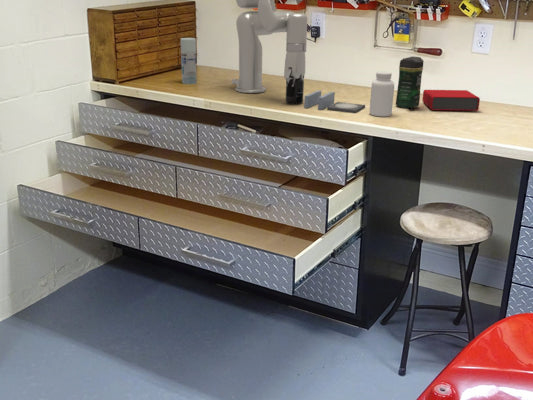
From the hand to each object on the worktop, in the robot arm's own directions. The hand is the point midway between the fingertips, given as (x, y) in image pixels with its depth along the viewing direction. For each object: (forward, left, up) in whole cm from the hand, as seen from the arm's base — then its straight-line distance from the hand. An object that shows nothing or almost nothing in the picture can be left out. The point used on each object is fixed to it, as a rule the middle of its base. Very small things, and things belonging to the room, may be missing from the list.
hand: (294, 94), depth 244 cm
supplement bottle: (0, 0, -3) cm, 3 cm away
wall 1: (+8, 0, -3) cm, 8 cm away
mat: (+21, 0, -3) cm, 21 cm away
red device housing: (+54, +26, -4) cm, 60 cm away
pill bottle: (+35, -3, -3) cm, 35 cm away
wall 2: (+13, 0, -3) cm, 13 cm away
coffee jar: (+40, +16, -3) cm, 43 cm away
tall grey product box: (-55, +11, -3) cm, 56 cm away
